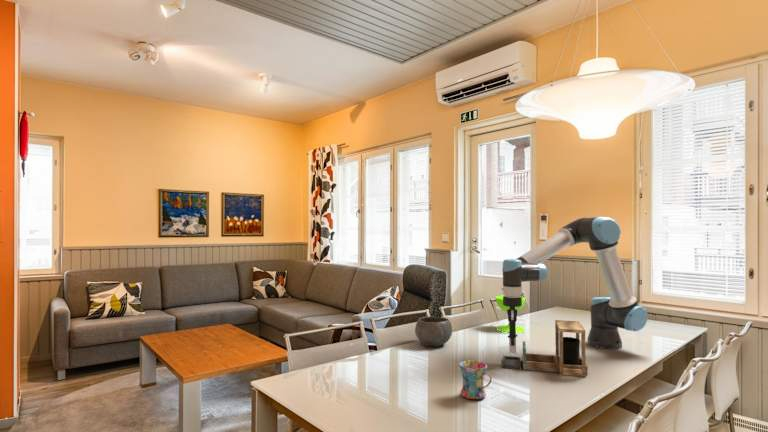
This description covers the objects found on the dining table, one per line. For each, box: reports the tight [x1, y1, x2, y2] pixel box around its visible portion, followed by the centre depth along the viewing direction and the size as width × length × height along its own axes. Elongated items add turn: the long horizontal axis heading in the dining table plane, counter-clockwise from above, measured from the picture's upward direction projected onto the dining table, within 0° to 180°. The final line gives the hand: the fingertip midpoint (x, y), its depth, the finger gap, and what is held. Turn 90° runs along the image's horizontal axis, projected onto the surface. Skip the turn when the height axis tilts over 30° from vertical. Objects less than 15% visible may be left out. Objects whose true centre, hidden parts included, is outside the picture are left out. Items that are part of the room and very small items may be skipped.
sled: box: [522, 341, 589, 376], centre depth 175 cm, size 24×12×8 cm, turn 74°
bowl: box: [414, 316, 453, 347], centre depth 209 cm, size 18×18×13 cm
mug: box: [458, 360, 493, 400], centre depth 144 cm, size 12×9×11 cm
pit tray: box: [502, 355, 522, 370], centre depth 179 cm, size 7×12×2 cm, turn 163°
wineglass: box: [495, 295, 526, 333], centre depth 239 cm, size 16×16×18 cm
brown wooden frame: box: [554, 319, 587, 378], centre depth 173 cm, size 9×16×18 cm, turn 164°
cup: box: [563, 336, 581, 365], centre depth 173 cm, size 8×8×12 cm
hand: (512, 352), depth 179 cm, fingers closed
